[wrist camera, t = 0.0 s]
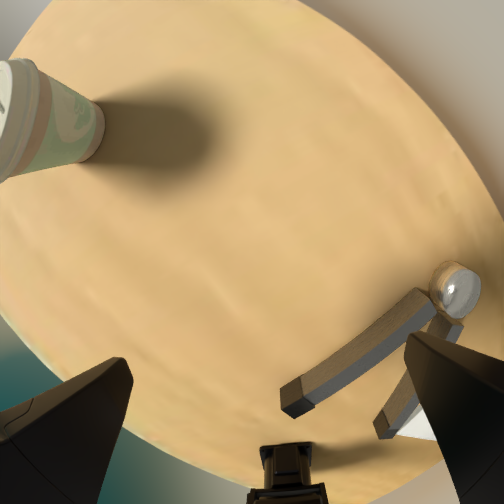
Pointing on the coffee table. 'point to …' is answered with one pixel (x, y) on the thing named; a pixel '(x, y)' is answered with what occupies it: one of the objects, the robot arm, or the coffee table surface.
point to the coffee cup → (43, 121)
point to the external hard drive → (417, 426)
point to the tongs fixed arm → (404, 393)
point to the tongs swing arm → (383, 337)
